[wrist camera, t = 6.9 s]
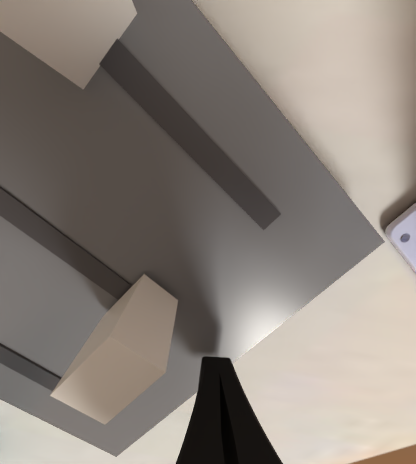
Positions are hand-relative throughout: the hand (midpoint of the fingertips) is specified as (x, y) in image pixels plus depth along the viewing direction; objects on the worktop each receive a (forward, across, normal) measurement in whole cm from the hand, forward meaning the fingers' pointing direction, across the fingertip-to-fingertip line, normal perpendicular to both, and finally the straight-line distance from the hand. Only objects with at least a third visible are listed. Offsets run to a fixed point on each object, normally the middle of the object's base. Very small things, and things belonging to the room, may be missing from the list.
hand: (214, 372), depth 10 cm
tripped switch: (+1, +4, -3) cm, 5 cm away
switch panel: (+3, +7, -5) cm, 9 cm away
